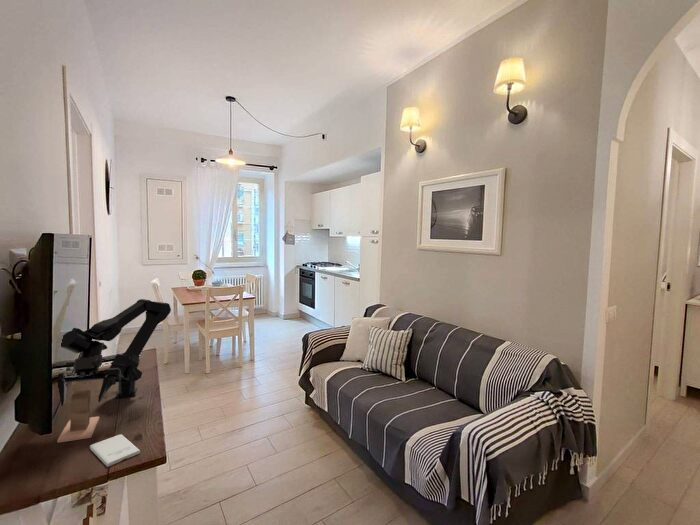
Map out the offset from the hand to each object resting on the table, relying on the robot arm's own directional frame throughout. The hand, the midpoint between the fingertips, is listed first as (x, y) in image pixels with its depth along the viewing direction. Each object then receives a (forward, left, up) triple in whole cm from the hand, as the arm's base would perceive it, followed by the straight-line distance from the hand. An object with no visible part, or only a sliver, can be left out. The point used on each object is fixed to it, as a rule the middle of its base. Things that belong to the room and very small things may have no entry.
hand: (81, 403), depth 107 cm
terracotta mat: (0, 0, -8) cm, 8 cm away
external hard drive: (+16, +11, -9) cm, 21 cm away
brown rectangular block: (0, 0, -7) cm, 7 cm away
